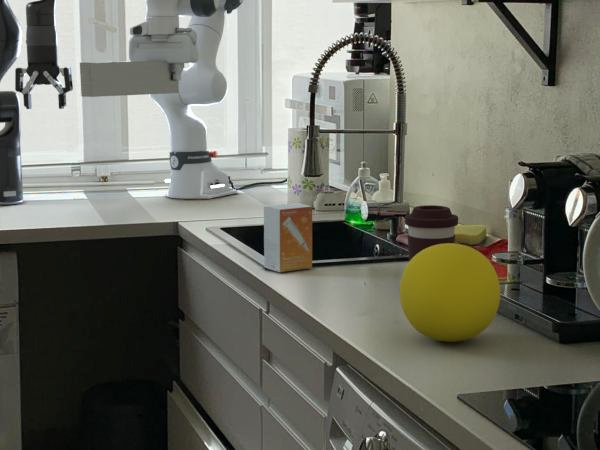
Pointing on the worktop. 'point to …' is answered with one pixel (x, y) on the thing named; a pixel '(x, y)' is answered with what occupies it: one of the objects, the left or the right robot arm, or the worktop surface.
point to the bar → (127, 78)
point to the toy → (450, 292)
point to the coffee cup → (429, 227)
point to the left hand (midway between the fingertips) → (45, 108)
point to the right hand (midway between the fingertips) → (164, 80)
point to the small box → (288, 237)
